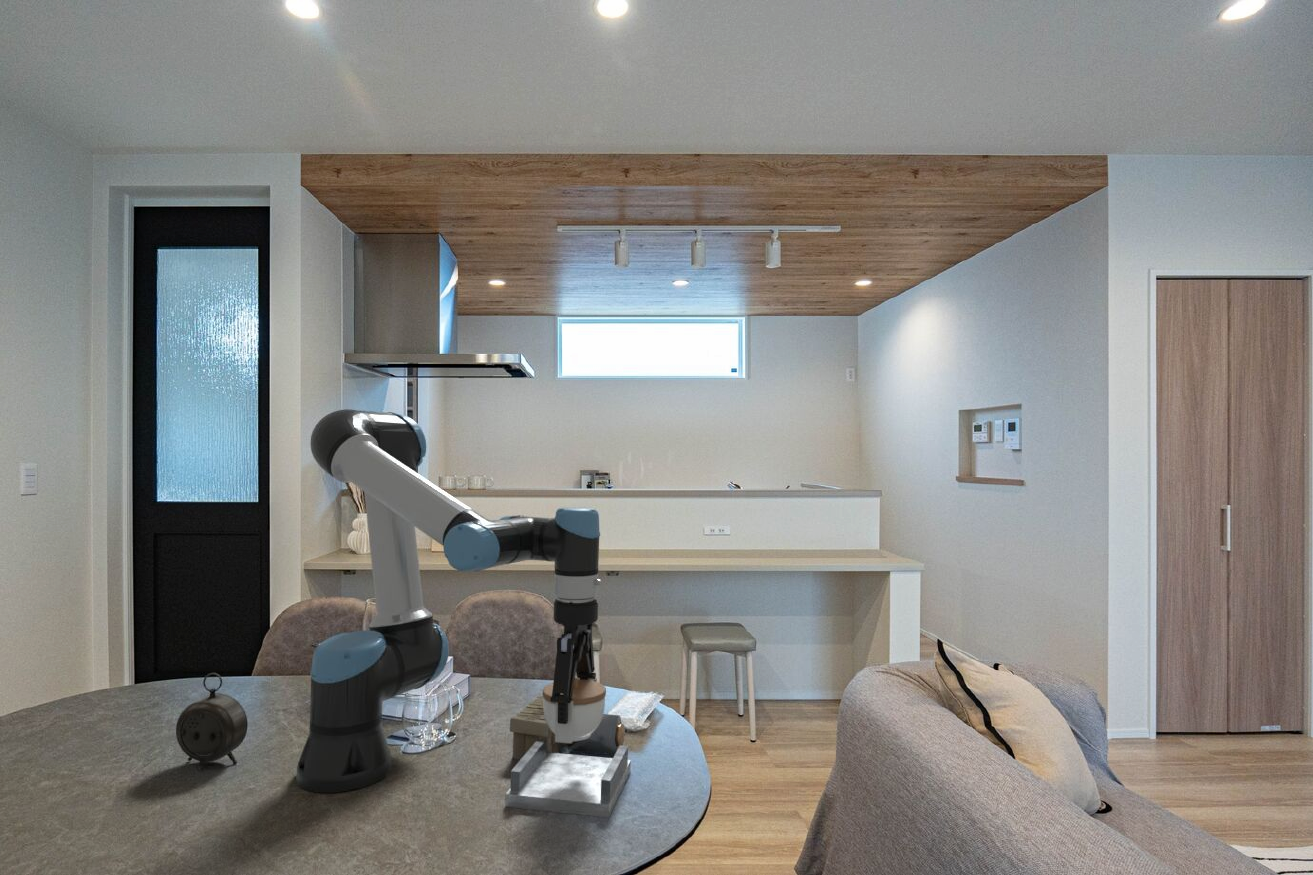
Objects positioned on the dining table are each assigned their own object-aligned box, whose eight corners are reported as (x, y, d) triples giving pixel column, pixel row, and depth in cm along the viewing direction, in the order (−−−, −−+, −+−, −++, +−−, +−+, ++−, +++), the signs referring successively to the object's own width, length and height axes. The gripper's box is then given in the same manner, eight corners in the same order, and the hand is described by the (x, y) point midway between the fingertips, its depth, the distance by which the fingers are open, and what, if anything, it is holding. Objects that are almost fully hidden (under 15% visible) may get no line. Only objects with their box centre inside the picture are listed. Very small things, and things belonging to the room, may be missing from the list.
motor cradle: (505, 806, 115) (506, 762, 115) (556, 740, 142) (557, 704, 142) (608, 817, 112) (610, 772, 112) (641, 748, 139) (641, 711, 140)
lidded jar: (594, 750, 116) (596, 691, 116) (532, 743, 118) (533, 685, 118) (612, 726, 126) (613, 672, 127) (554, 720, 128) (555, 667, 129)
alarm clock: (247, 760, 130) (251, 669, 130) (227, 773, 124) (231, 678, 125) (190, 757, 131) (194, 667, 131) (168, 770, 125) (172, 676, 126)
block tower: (563, 713, 161) (506, 761, 132) (564, 674, 161) (508, 714, 133) (596, 716, 159) (546, 766, 130) (597, 677, 159) (548, 719, 131)
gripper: (579, 613, 111) (576, 758, 110) (612, 587, 134) (610, 707, 133) (532, 611, 112) (529, 754, 111) (573, 585, 135) (571, 704, 134)
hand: (573, 728), depth 122 cm, fingers closed on lidded jar, 11 cm apart
